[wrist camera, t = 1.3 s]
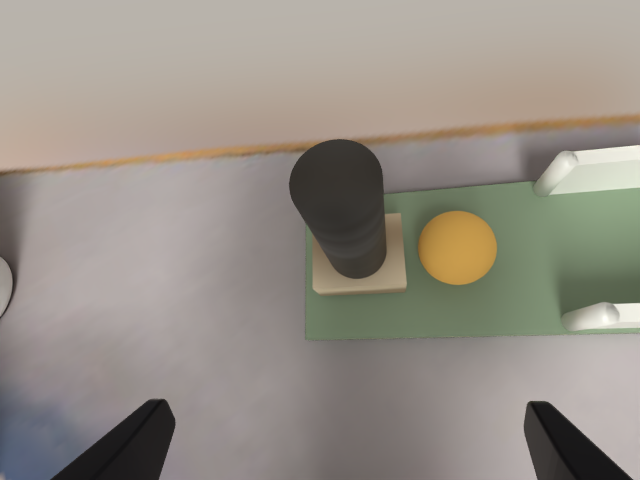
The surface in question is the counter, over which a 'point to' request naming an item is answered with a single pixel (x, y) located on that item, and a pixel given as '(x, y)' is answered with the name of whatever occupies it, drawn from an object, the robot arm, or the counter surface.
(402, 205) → the board
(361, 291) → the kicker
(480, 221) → the ball
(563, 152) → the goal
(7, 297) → the bath foam
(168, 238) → the counter surface
